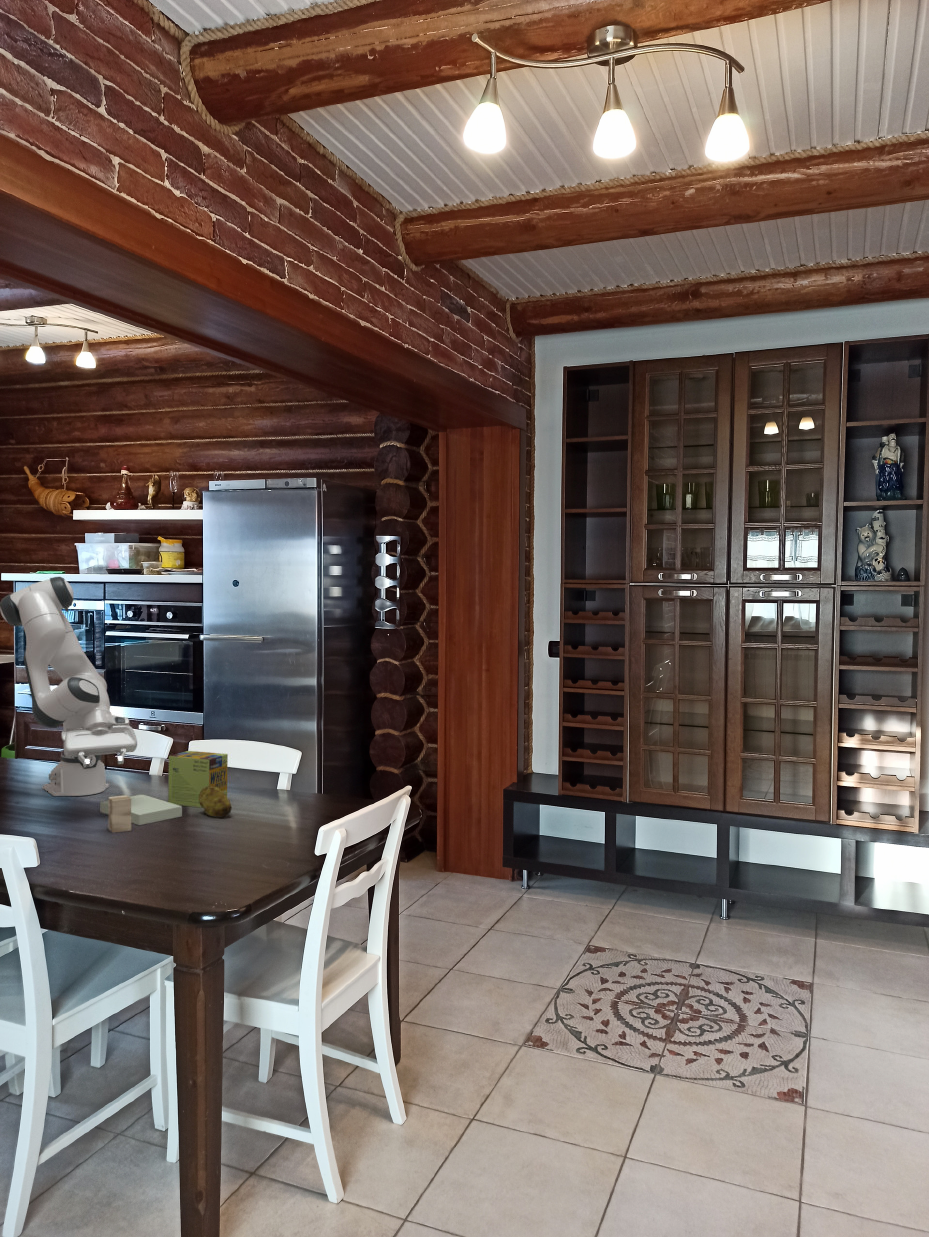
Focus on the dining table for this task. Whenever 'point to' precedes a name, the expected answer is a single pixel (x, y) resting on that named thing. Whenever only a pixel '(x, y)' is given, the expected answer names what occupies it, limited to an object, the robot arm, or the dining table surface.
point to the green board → (148, 809)
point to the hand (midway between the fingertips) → (104, 764)
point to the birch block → (119, 813)
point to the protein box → (195, 776)
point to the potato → (214, 802)
